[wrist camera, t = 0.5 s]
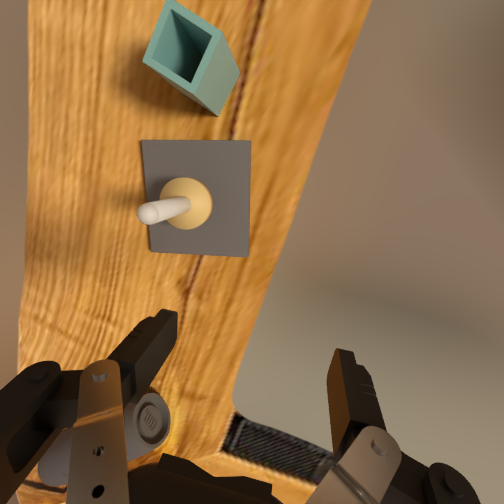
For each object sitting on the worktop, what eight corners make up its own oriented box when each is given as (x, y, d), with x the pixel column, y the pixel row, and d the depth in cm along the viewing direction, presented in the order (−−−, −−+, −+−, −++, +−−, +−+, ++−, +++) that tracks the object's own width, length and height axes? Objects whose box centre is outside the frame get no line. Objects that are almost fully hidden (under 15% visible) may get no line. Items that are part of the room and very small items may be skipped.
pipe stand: (145, 140, 37) (48, 115, 22) (251, 141, 36) (225, 115, 20) (154, 250, 42) (79, 292, 26) (249, 255, 40) (226, 303, 25)
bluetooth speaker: (96, 448, 56) (57, 504, 46) (68, 415, 54) (21, 466, 45) (181, 412, 50) (157, 467, 41) (152, 375, 49) (120, 423, 39)
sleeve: (201, 47, 33) (167, -5, 24) (240, 73, 34) (222, 32, 24) (180, 92, 35) (142, 61, 26) (218, 116, 35) (193, 94, 26)
